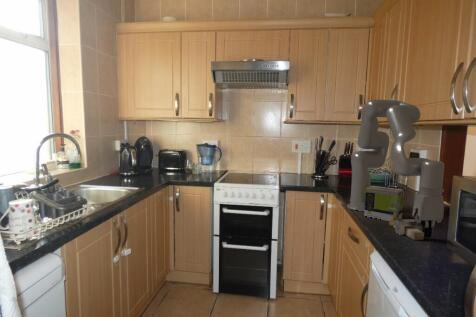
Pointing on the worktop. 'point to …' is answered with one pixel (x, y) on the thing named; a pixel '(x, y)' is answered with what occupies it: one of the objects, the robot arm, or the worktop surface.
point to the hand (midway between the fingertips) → (426, 236)
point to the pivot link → (408, 229)
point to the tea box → (383, 202)
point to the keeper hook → (403, 225)
